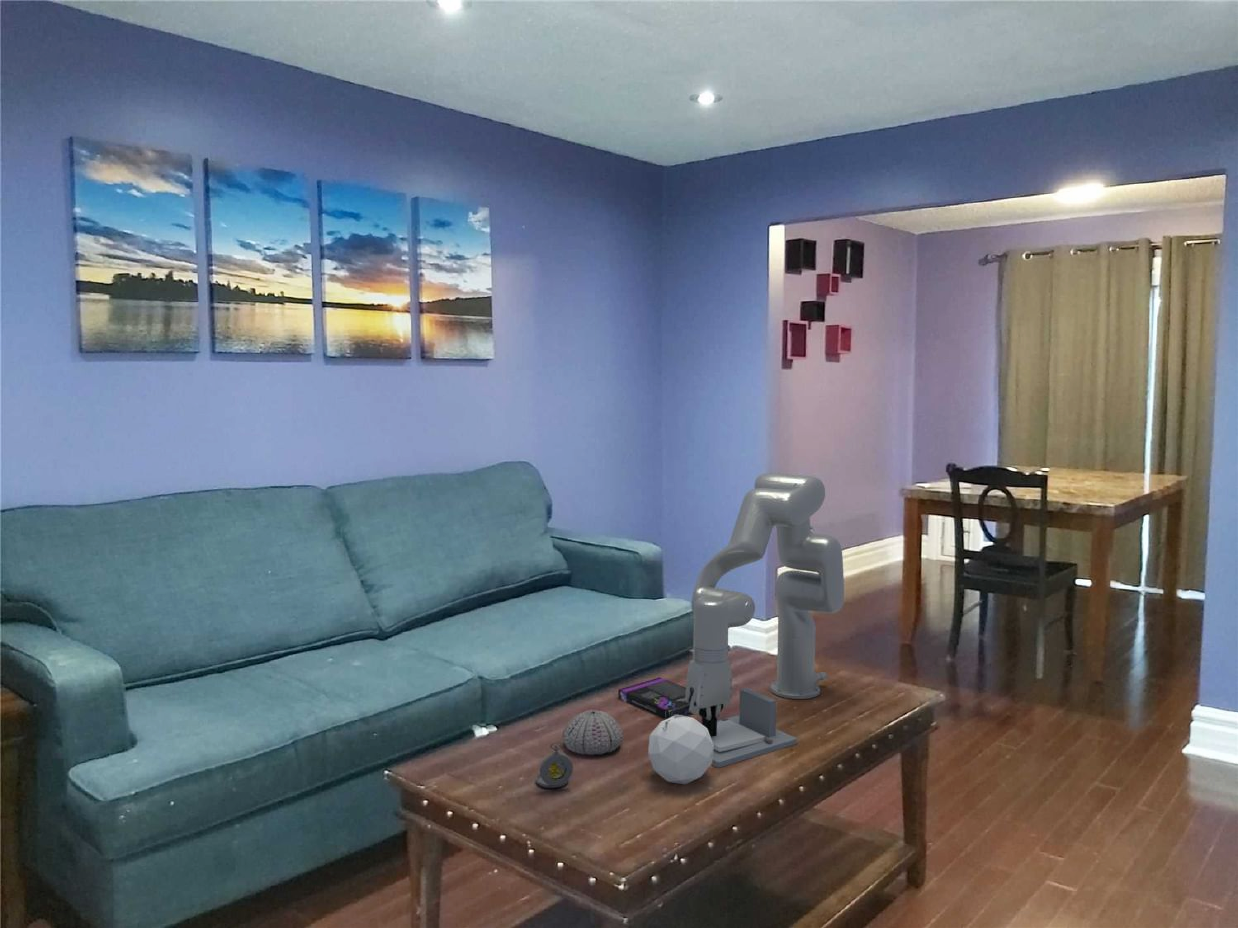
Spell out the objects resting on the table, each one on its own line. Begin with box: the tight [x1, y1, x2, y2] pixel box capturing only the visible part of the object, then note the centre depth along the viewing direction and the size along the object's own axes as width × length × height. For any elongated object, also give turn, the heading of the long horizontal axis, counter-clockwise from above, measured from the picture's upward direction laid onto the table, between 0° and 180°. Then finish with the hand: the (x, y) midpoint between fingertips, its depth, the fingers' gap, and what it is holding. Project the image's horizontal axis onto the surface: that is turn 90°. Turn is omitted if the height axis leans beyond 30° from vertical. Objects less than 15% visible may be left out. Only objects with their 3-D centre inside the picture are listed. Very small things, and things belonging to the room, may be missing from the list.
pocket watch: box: [535, 741, 574, 789], centre depth 191 cm, size 8×8×10 cm
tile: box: [711, 720, 765, 752], centre depth 213 cm, size 13×12×1 cm
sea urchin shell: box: [561, 709, 624, 756], centre depth 211 cm, size 13×14×8 cm
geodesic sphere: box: [647, 714, 714, 785], centre depth 193 cm, size 14×14×14 cm
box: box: [617, 676, 694, 720], centre depth 238 cm, size 14×4×20 cm
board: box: [711, 687, 798, 769], centre depth 213 cm, size 23×18×9 cm
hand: (709, 734), depth 210 cm, fingers closed
